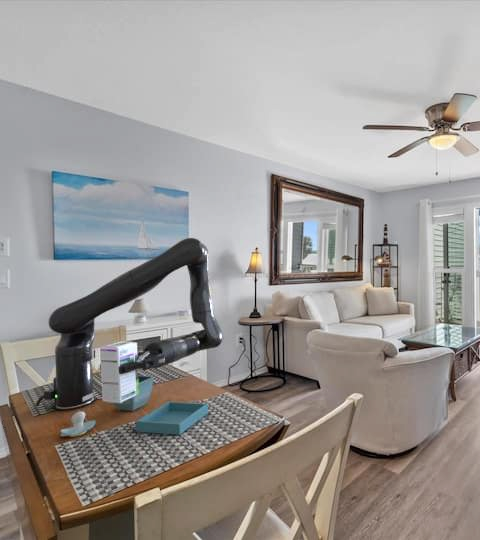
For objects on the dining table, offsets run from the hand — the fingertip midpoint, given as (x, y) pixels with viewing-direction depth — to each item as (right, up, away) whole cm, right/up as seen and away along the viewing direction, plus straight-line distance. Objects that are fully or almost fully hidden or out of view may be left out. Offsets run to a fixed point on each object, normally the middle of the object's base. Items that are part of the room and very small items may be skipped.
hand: (110, 368), depth 85 cm
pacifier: (-14, -20, +6) cm, 25 cm away
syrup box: (+1, -9, +3) cm, 9 cm away
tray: (+9, -19, +13) cm, 25 cm away
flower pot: (-10, -19, +22) cm, 31 cm away
